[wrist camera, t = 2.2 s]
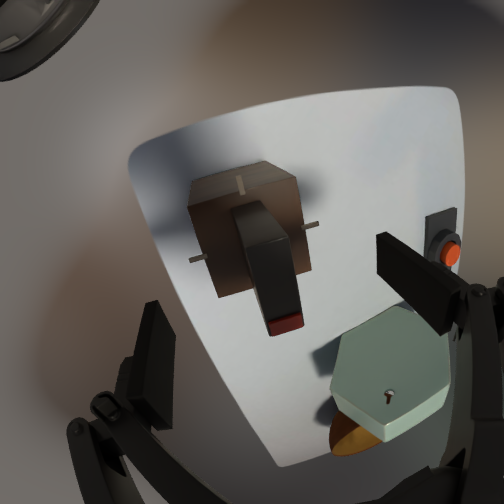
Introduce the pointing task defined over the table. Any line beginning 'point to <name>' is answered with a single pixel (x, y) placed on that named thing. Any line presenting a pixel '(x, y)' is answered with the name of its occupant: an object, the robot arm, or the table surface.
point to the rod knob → (269, 267)
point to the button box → (440, 234)
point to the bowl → (350, 435)
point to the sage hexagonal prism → (391, 372)
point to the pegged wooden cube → (223, 227)
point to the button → (450, 253)
